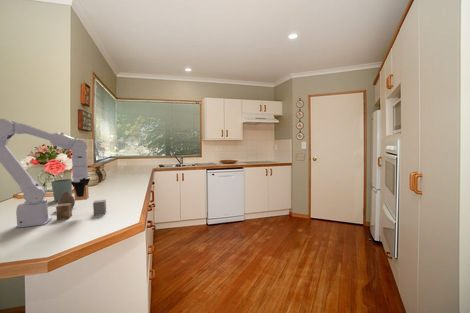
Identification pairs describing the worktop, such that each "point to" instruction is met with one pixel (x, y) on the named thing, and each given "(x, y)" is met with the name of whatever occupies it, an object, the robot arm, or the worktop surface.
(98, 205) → the charcoal block
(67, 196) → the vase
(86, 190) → the terracotta block
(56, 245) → the worktop surface
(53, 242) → the worktop surface
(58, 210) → the walnut block
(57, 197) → the teal plant pot
